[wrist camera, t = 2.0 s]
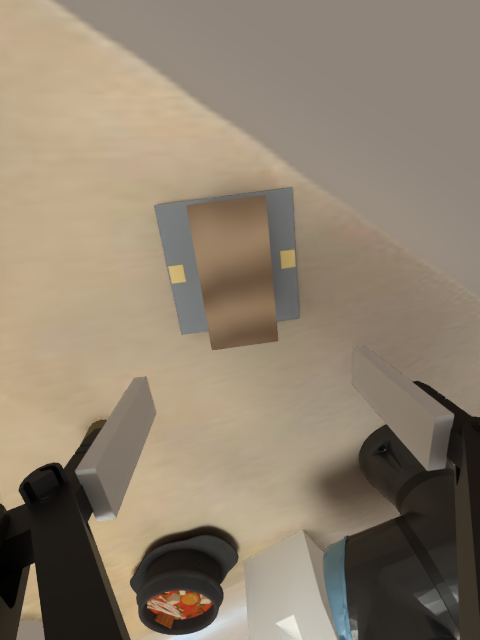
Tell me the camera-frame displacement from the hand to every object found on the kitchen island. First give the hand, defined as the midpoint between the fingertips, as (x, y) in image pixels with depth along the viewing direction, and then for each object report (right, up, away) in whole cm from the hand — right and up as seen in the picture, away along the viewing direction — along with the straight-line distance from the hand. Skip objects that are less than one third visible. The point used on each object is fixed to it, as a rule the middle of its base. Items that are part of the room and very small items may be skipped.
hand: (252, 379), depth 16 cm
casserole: (-13, -49, +40) cm, 65 cm away
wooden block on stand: (-2, +11, +19) cm, 22 cm away
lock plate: (-2, +12, +21) cm, 24 cm away
